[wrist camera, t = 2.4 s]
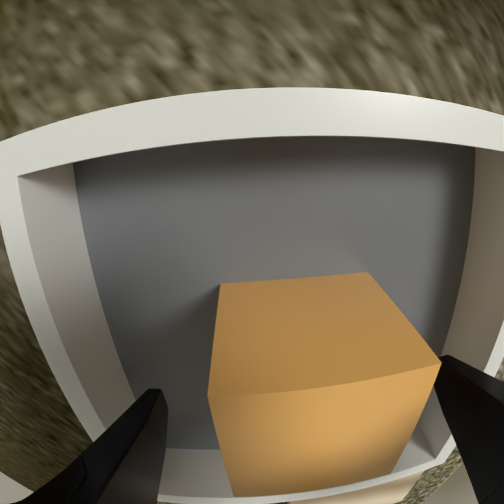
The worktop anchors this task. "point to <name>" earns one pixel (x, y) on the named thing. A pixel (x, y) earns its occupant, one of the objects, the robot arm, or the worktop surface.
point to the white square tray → (248, 244)
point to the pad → (370, 493)
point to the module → (314, 383)
